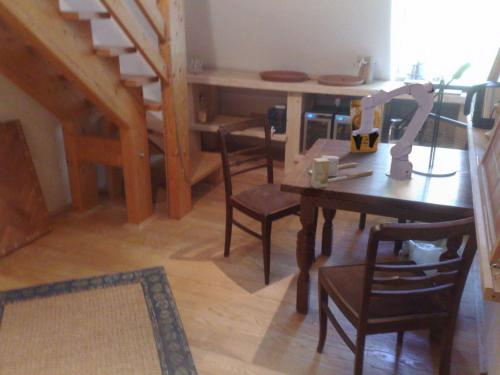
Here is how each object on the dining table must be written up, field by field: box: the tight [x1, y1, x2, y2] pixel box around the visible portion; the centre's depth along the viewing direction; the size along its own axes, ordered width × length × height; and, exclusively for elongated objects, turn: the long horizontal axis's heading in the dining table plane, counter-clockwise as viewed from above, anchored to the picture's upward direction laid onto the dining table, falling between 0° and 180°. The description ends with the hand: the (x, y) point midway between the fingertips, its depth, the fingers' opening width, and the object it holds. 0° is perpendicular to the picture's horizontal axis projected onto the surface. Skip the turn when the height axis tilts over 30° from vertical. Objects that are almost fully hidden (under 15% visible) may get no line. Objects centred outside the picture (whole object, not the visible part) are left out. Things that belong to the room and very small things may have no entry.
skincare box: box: [310, 157, 330, 189], centre depth 190 cm, size 6×4×12 cm
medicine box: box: [320, 155, 339, 178], centre depth 204 cm, size 8×4×9 cm, turn 74°
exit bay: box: [308, 169, 348, 183], centre depth 204 cm, size 14×12×1 cm
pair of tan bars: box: [338, 162, 374, 179], centre depth 209 cm, size 13×14×2 cm
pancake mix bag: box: [348, 99, 383, 154], centre depth 235 cm, size 7×19×28 cm, turn 99°
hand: (364, 148), depth 212 cm, fingers open, 7 cm apart
